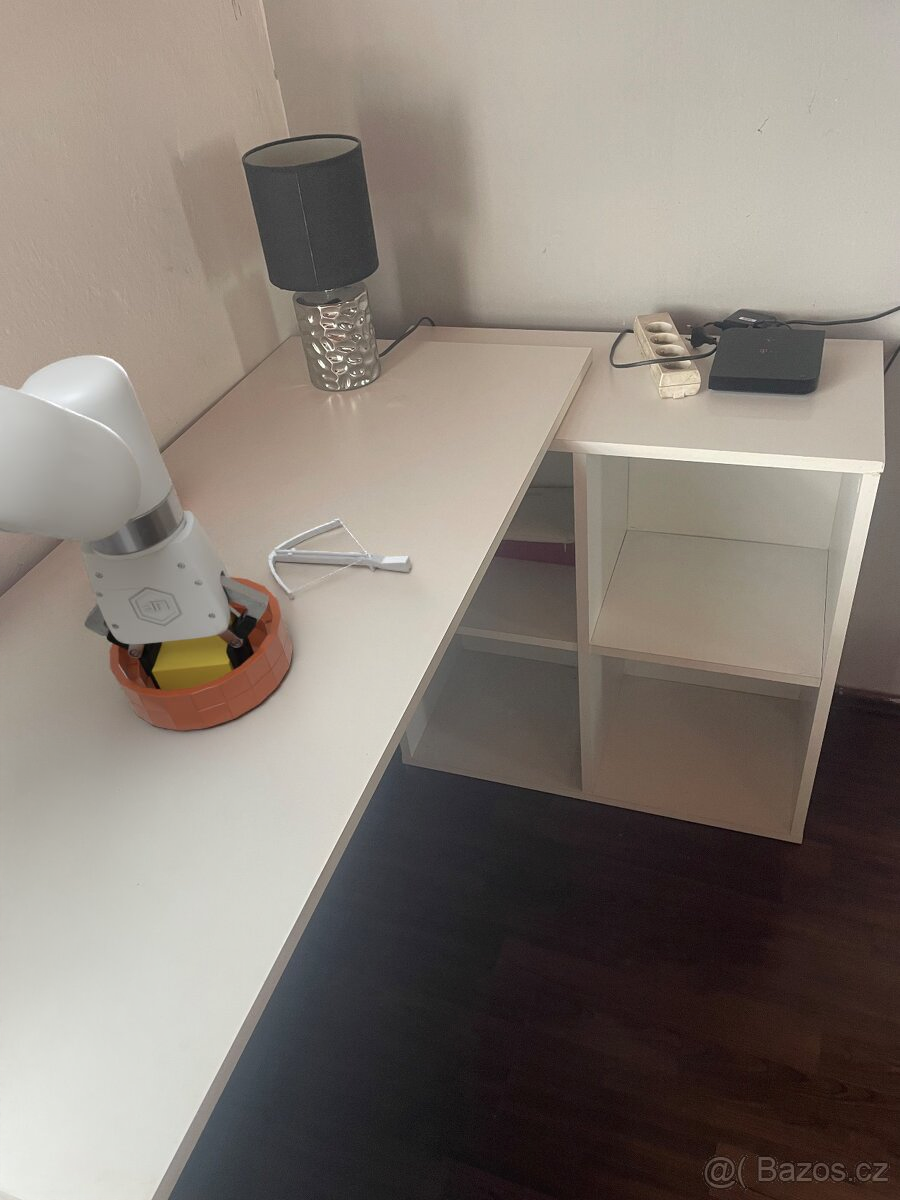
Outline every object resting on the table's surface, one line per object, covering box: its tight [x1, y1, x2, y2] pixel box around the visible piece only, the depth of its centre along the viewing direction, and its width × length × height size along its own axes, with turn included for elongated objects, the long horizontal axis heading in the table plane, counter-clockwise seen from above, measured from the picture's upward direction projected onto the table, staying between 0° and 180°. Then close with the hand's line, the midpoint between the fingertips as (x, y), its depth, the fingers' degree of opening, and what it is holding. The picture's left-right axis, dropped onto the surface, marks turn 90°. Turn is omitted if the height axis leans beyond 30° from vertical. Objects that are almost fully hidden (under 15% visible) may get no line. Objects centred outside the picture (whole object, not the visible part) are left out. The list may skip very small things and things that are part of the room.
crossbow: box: [268, 518, 412, 600], centre depth 91 cm, size 16×13×2 cm
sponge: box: [152, 635, 234, 690], centre depth 78 cm, size 4×7×4 cm, turn 90°
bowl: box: [109, 576, 294, 731], centre depth 80 cm, size 16×16×5 cm
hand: (204, 672), depth 79 cm, fingers closed on sponge, 7 cm apart
